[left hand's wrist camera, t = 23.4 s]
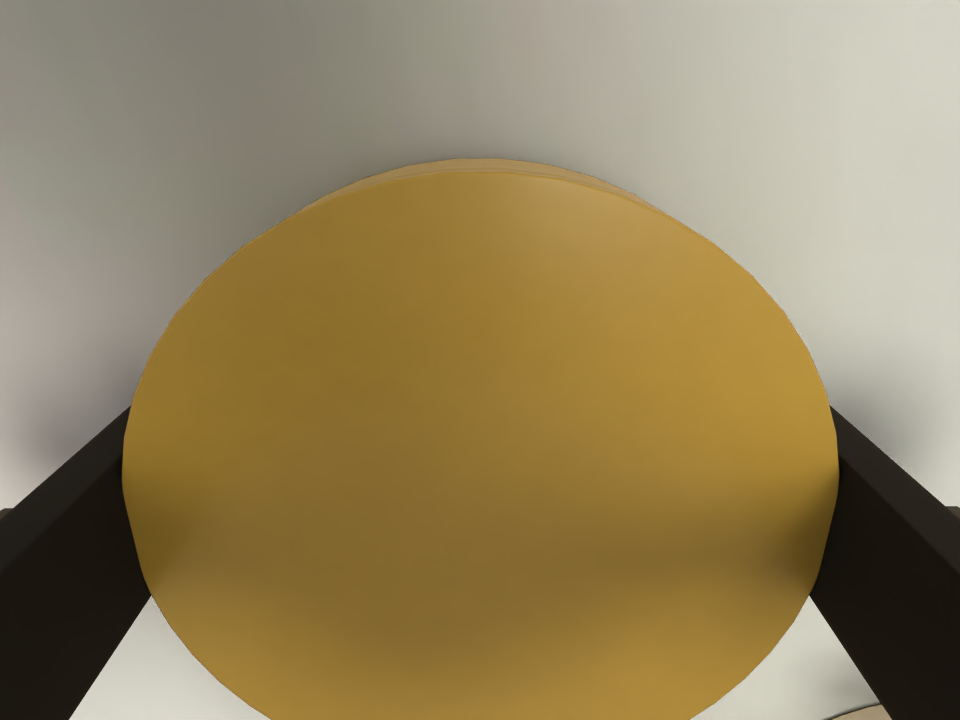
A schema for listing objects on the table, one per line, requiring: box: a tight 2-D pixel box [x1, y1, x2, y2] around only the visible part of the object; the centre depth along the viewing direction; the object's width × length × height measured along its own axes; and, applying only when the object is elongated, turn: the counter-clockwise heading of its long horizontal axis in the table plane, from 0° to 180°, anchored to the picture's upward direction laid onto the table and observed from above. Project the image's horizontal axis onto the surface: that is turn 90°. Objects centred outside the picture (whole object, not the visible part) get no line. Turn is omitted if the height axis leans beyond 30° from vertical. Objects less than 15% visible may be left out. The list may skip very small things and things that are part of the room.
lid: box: [122, 158, 839, 720], centre depth 11 cm, size 12×12×2 cm
